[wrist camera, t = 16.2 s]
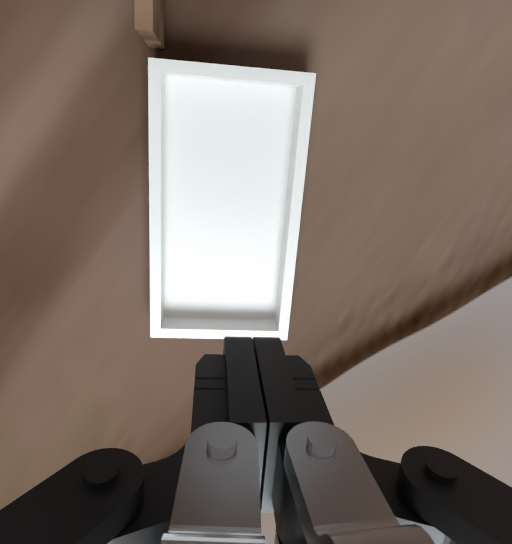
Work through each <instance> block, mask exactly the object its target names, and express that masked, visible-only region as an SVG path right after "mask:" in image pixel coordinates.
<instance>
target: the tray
mask: <svg viewBox="0 0 512 544" xmlns="http://www.w3.org/2000/svg"><path fill="white" fill-rule="evenodd" d="M315 79H316V73H308V72H297V71H287V70H276V69H266V68H255V67H244V66H234V65H223V64H213V63H202V62H191V61H181V60H170V59H160V58H149V57H148V115H149V232H150V337H152V338H205V339H224V337H225V336H231V337H251V338H253V337H279V338H280V340H287V337H288V328H289V319H290V309H291V300H292V291H293V282H294V273H295V263H296V254H297V245H298V236H299V227H300V217H301V208H302V199H303V190H304V180H305V171H306V162H307V153H308V144H309V134H310V125H311V116H312V107H313V98H314V88H315Z"/></svg>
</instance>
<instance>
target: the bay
mask: <svg viewBox="0 0 512 544" xmlns="http://www.w3.org/2000/svg"><path fill="white" fill-rule="evenodd" d="M134 18H135V30H136V31H137V33H138V34H139V35H140V36H141V38H142V39H143V40H144V41H145V42H146V44H147V45H148V46H149V47H150V48H158V49H164V0H134Z"/></svg>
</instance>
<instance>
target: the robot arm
mask: <svg viewBox="0 0 512 544" xmlns="http://www.w3.org/2000/svg"><path fill="white" fill-rule="evenodd" d="M260 509H261V512H260ZM260 513H274V516H275V522H276V530H275V539H274V544H512V487H509V486H508V485H506V484H505V483H503V482H501V481H499V480H498V479H496V478H494V477H492V476H491V475H489V474H487V473H485V472H483V471H482V470H480V469H478V468H477V467H475V466H473V465H471V464H470V463H468V462H466V461H464V460H463V459H461V458H459V457H457V456H455V455H453V454H452V453H450V452H447V451H445V450H442V449H439V448H435V447H429V446H417V447H413V448H411V449H409V450H407V451H406V452H405V453H404V454H403V456H402V460H401V464H400V463H396V462H392V461H388V460H383V459H379V458H375V457H372V456H368V455H366V454H363V453H361V452H359V450H358V448H357V446H356V444H355V443H354V441H353V440H352V438H351V437H350V436H349V435H348V434H347V433H346V432H344V431H343V430H341V429H340V428H338V427H336V426H334V423H333V421H332V419H331V416H330V414H329V411H328V409H327V406H326V404H325V401H324V399H323V396H322V394H321V391H319V386H318V384H317V381H315V376H314V374H313V371H312V369H311V366H310V365H309V364H308V363H306V362H305V361H304V360H303V359H302V358H301V357H300V356H291V355H285V352H284V349H283V346H282V343H281V340H280V338H279V337H253V338H251V337H231V336H225V337H224V351H223V355H218V354H205V355H204V356H203V357H202V358H201V359H200V361H199V362H198V363H197V364H196V371H195V385H194V398H193V412H192V426H191V434H190V435H189V437H188V439H187V441H186V444H185V445H184V446H183V447H182V448H181V449H180V450H179V451H178V452H176V453H175V454H173V455H171V456H169V457H167V458H165V459H162V460H159V461H155V462H151V463H148V464H144V465H143V464H142V462H141V461H140V459H139V458H138V457H137V456H136V455H134V454H133V453H131V452H129V451H126V450H123V449H118V448H105V449H99V450H95V451H92V452H89V453H86V454H84V455H82V456H80V457H79V458H77V459H75V460H74V461H72V462H71V463H69V464H68V465H66V466H65V467H64V468H62V469H61V470H59V471H58V472H56V473H55V474H53V475H52V476H50V477H49V478H47V479H46V480H44V481H43V482H41V483H40V484H38V485H37V486H35V487H34V488H32V489H31V490H29V491H28V492H26V493H25V494H24V495H22V496H21V497H19V498H18V499H16V500H15V501H13V502H12V503H10V504H9V505H7V506H6V507H4V508H3V509H1V510H0V544H266V541H265V537H264V536H262V535H261V514H260Z"/></svg>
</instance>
